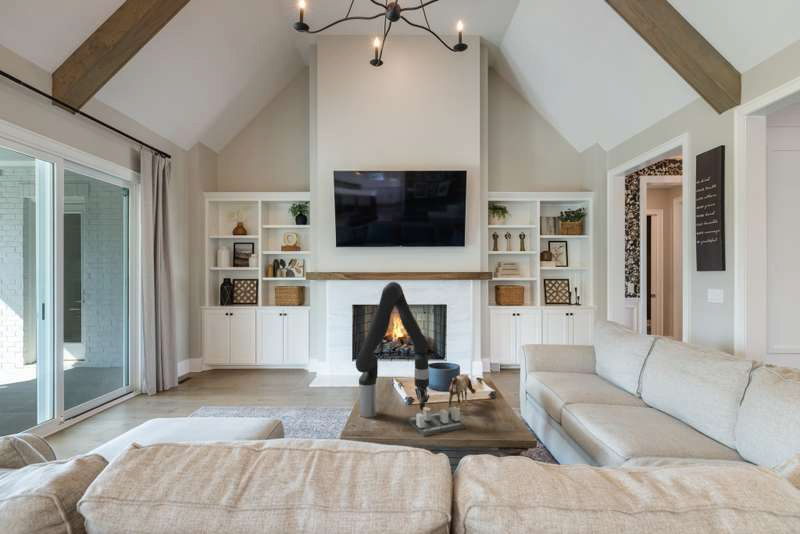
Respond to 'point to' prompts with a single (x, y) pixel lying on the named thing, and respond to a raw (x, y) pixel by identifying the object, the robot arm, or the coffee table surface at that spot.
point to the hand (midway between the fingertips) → (422, 409)
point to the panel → (436, 425)
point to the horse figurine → (460, 389)
